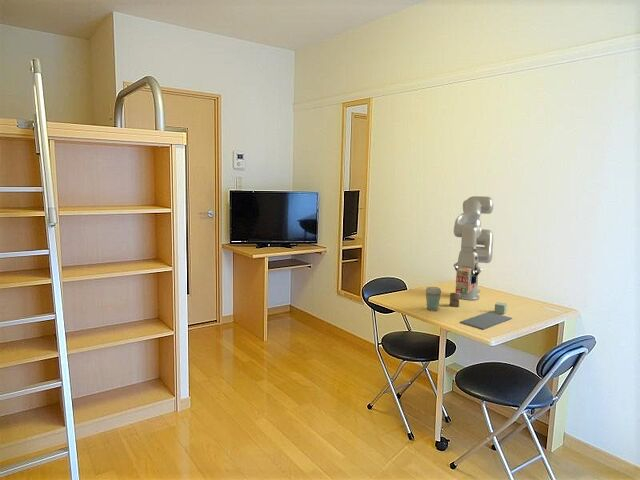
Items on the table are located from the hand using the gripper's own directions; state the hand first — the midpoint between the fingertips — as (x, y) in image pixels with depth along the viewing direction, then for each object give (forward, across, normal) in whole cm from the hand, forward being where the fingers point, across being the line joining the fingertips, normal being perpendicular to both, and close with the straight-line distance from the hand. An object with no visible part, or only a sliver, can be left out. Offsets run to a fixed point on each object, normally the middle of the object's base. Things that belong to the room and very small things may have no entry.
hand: (466, 281), depth 241 cm
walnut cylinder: (+18, +12, -7) cm, 22 cm away
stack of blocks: (+4, 0, -1) cm, 4 cm away
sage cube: (+18, -11, -16) cm, 27 cm away
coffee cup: (+18, +15, +9) cm, 24 cm away
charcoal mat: (+17, -14, +3) cm, 23 cm away
